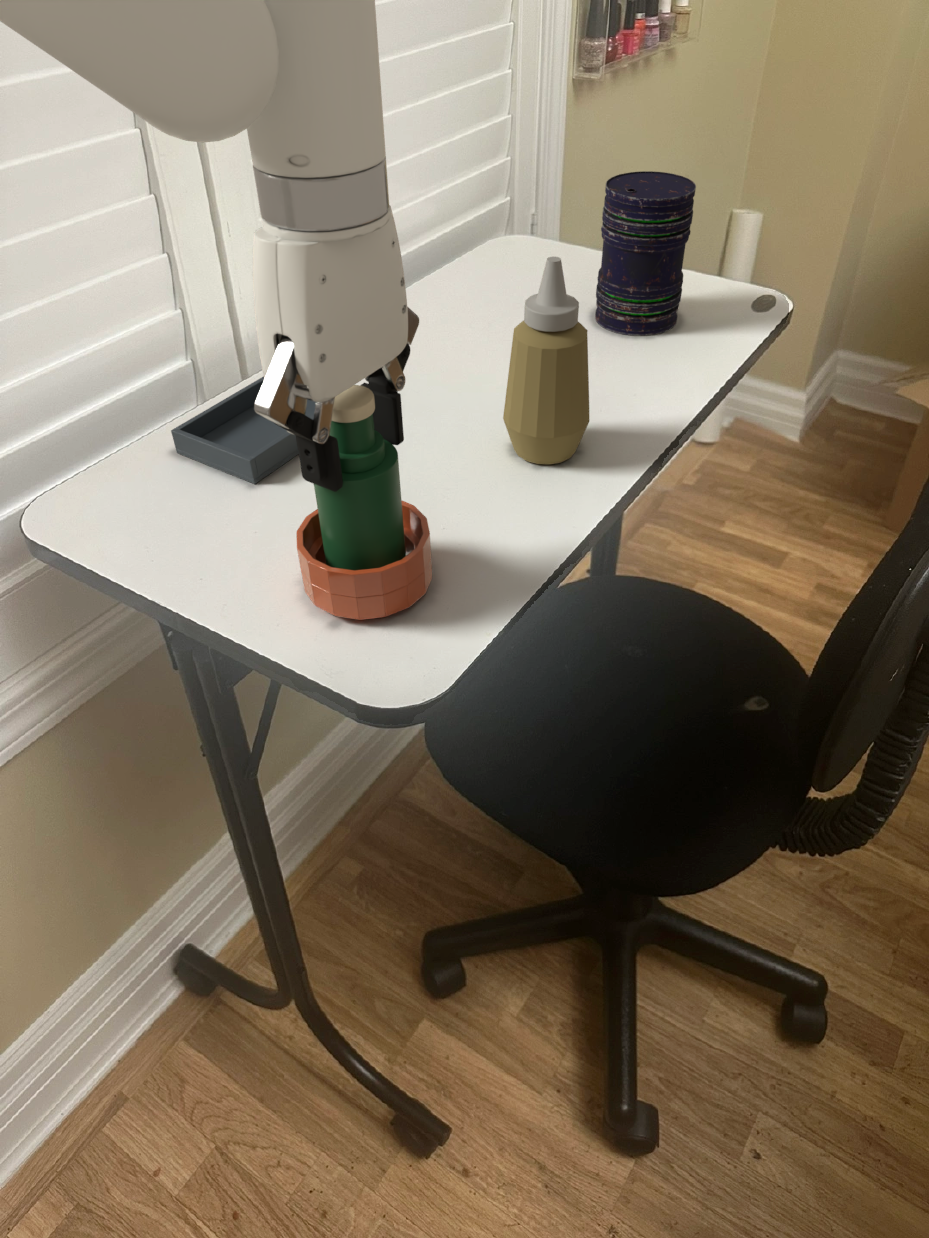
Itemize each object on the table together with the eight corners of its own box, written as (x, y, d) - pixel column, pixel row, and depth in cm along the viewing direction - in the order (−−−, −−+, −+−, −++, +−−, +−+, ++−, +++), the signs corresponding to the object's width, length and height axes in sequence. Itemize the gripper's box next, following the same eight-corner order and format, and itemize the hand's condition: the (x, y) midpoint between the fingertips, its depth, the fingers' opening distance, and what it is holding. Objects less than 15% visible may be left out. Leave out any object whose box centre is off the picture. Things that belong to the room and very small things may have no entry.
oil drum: (637, 294, 113) (651, 165, 103) (695, 321, 107) (716, 186, 97) (576, 315, 109) (585, 183, 99) (633, 344, 103) (649, 206, 93)
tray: (254, 484, 83) (250, 460, 81) (176, 453, 87) (170, 430, 85) (358, 413, 92) (355, 391, 90) (283, 388, 96) (279, 366, 95)
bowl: (306, 632, 68) (297, 580, 64) (304, 551, 75) (295, 501, 72) (439, 617, 69) (436, 565, 65) (423, 539, 76) (420, 489, 73)
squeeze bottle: (492, 465, 84) (493, 273, 72) (514, 423, 90) (518, 238, 78) (577, 478, 82) (593, 282, 70) (594, 434, 88) (611, 246, 76)
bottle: (330, 606, 69) (301, 424, 58) (327, 557, 73) (300, 379, 63) (411, 597, 69) (397, 415, 59) (403, 549, 74) (389, 371, 64)
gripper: (364, 148, 59) (385, 397, 71) (166, 227, 49) (230, 504, 61) (460, 165, 56) (465, 422, 68) (270, 253, 45) (315, 540, 57)
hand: (354, 459), depth 64 cm, fingers closed on bottle, 6 cm apart
